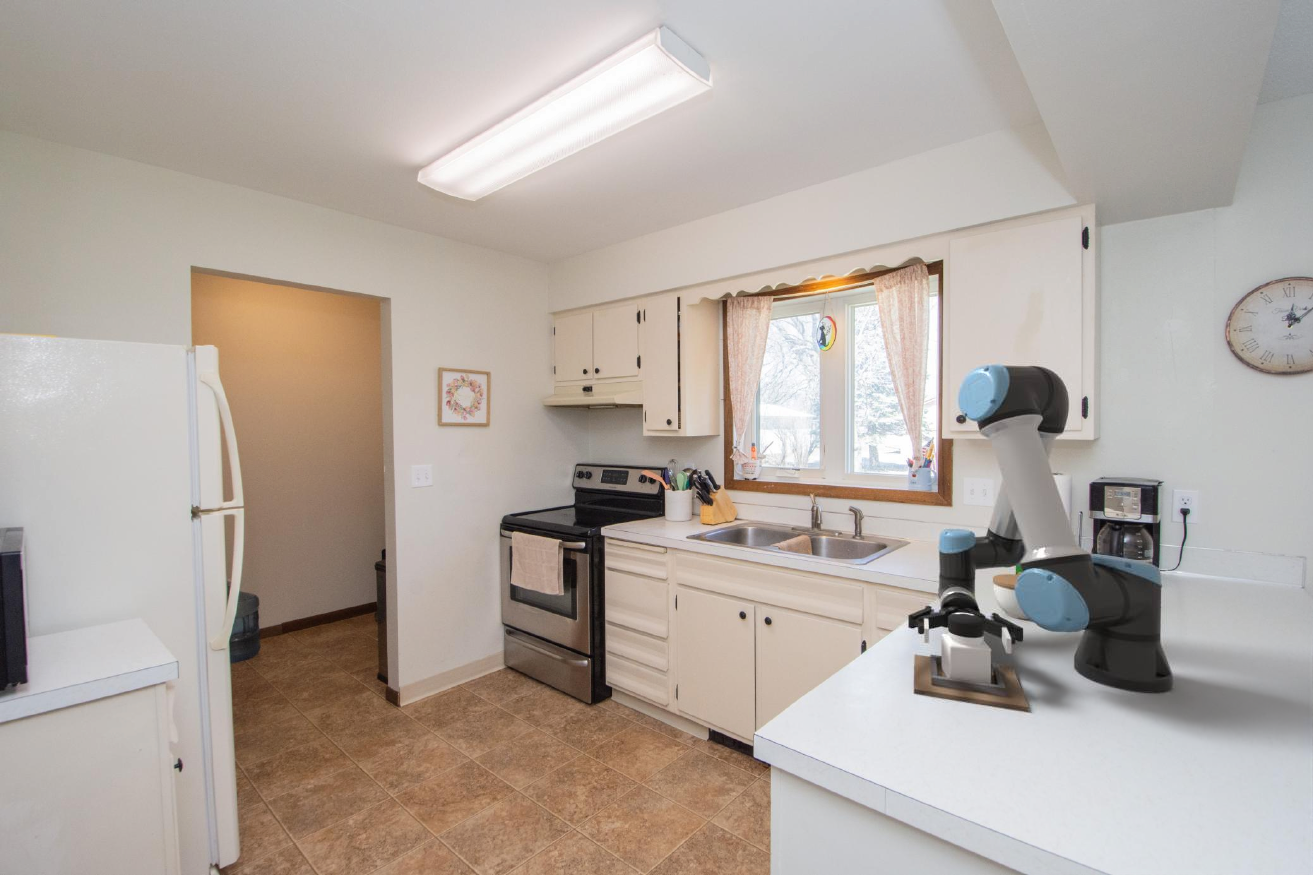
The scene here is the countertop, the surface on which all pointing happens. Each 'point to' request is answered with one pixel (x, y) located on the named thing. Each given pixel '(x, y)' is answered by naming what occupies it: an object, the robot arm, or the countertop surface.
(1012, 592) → the lidded bowl
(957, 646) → the medicine bottle
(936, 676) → the dock
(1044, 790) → the countertop surface
